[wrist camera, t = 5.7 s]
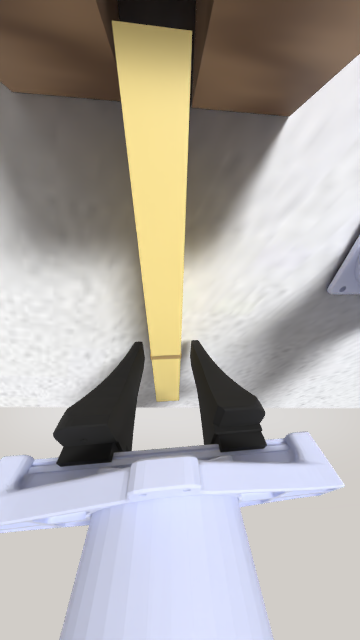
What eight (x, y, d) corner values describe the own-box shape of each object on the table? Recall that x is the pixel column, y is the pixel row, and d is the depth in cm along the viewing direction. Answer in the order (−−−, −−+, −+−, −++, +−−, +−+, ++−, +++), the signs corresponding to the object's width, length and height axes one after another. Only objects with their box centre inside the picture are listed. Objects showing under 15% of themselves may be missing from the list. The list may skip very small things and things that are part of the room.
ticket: (178, 148, 8) (194, 30, 3) (175, 347, 15) (179, 400, 11) (144, 146, 7) (109, 19, 3) (159, 347, 15) (156, 401, 10)
